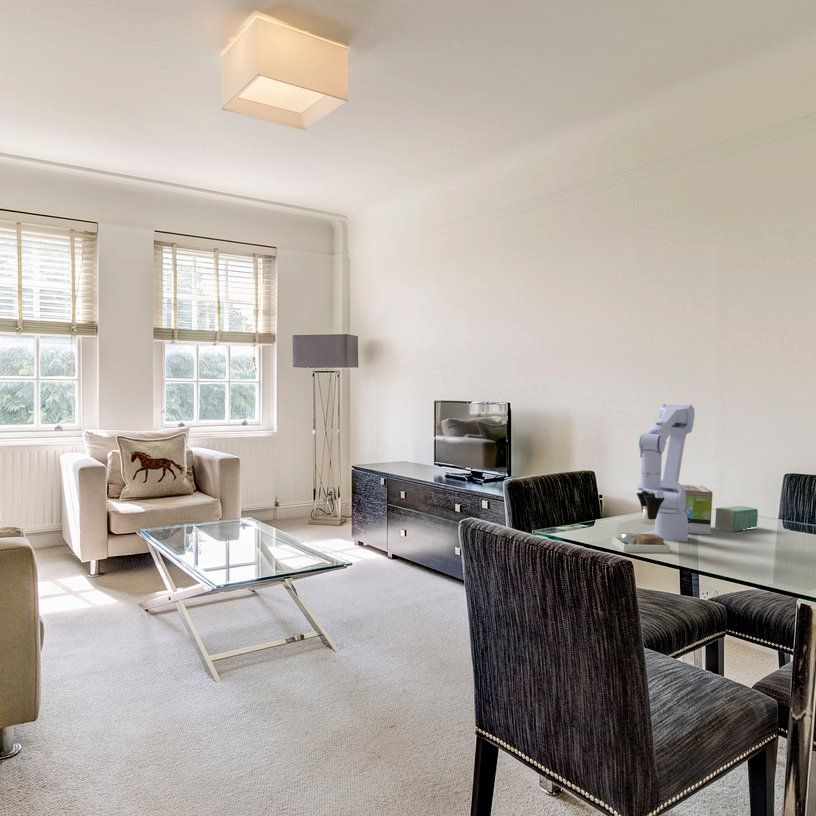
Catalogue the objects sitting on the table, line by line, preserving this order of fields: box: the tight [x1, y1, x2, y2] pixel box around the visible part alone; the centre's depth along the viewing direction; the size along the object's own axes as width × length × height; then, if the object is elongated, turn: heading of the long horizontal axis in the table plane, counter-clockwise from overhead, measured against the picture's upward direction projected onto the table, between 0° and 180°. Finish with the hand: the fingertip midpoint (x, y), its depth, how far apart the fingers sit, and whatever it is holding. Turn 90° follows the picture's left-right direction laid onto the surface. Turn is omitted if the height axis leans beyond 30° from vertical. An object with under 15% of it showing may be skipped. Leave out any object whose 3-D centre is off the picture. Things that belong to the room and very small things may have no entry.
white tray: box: [611, 536, 671, 554], centre depth 205 cm, size 14×10×2 cm
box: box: [714, 505, 759, 533], centre depth 238 cm, size 7×14×8 cm, turn 119°
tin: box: [620, 532, 637, 545], centre depth 205 cm, size 4×4×4 cm
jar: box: [641, 506, 655, 526], centre depth 205 cm, size 4×4×5 cm
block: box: [635, 533, 665, 545], centre depth 205 cm, size 6×6×4 cm
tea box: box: [680, 484, 713, 535], centre depth 235 cm, size 15×10×15 cm, turn 168°
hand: (649, 517), depth 205 cm, fingers closed on jar, 4 cm apart
